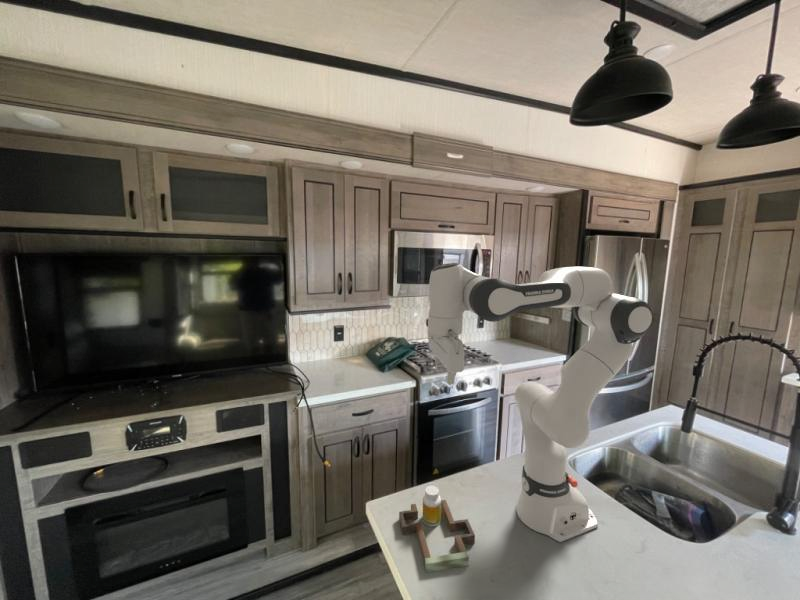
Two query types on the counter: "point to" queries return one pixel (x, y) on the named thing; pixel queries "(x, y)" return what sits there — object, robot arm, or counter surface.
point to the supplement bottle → (431, 506)
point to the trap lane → (460, 540)
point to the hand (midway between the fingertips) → (444, 376)
